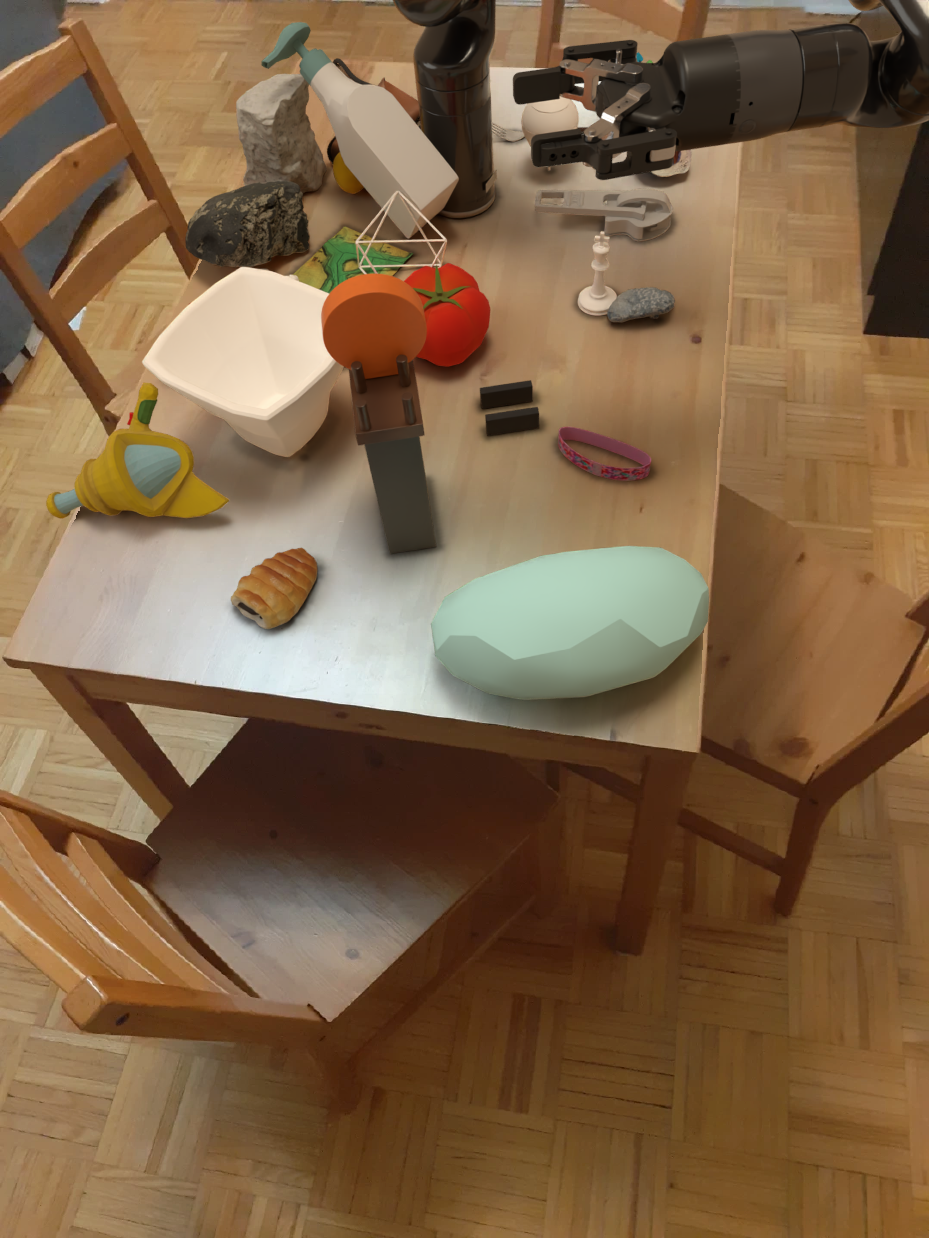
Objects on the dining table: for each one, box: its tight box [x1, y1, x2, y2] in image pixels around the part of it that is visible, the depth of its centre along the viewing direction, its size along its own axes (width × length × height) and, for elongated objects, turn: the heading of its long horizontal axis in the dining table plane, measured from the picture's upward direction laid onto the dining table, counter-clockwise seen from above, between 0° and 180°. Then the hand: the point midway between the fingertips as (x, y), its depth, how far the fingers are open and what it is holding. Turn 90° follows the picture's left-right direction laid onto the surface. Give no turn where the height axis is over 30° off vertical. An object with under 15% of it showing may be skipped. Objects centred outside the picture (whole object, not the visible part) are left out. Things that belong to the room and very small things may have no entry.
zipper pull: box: [534, 188, 674, 243], centre depth 122 cm, size 8×18×4 cm, turn 82°
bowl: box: [141, 267, 345, 458], centre depth 102 cm, size 19×19×14 cm
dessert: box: [649, 149, 693, 178], centre depth 126 cm, size 8×7×6 cm
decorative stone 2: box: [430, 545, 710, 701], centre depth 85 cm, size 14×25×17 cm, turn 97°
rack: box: [348, 354, 426, 446], centre depth 83 cm, size 6×10×4 cm, turn 8°
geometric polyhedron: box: [356, 191, 448, 274], centre depth 116 cm, size 12×11×9 cm
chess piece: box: [577, 230, 618, 317], centre depth 112 cm, size 5×5×10 cm
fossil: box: [606, 286, 676, 323], centre depth 113 cm, size 8×4×5 cm
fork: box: [492, 121, 589, 143], centre depth 134 cm, size 3×16×2 cm, turn 89°
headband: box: [557, 426, 652, 482], centre depth 102 cm, size 11×4×2 cm, turn 63°
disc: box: [321, 274, 427, 379], centre depth 81 cm, size 9×2×9 cm, turn 98°
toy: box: [45, 382, 230, 519], centre depth 100 cm, size 10×20×15 cm
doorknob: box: [332, 152, 365, 195], centre depth 128 cm, size 8×8×8 cm
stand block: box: [364, 436, 437, 555], centre depth 93 cm, size 5×9×18 cm, turn 8°
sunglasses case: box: [326, 77, 420, 165], centre depth 136 cm, size 18×7×7 cm
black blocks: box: [479, 380, 540, 437], centre depth 106 cm, size 6×5×2 cm
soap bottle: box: [260, 21, 459, 240], centre depth 117 cm, size 11×8×27 cm
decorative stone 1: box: [235, 73, 327, 194], centre depth 126 cm, size 10×9×15 cm
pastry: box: [230, 547, 318, 630], centre depth 95 cm, size 9×7×4 cm
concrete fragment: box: [184, 181, 310, 268], centre depth 122 cm, size 15×10×15 cm
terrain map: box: [292, 226, 414, 294], centre depth 122 cm, size 12×12×1 cm
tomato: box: [403, 262, 491, 367], centre depth 110 cm, size 13×12×8 cm
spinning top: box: [520, 96, 580, 172], centre depth 125 cm, size 8×8×12 cm
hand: (522, 120), depth 72 cm, fingers open, 8 cm apart
